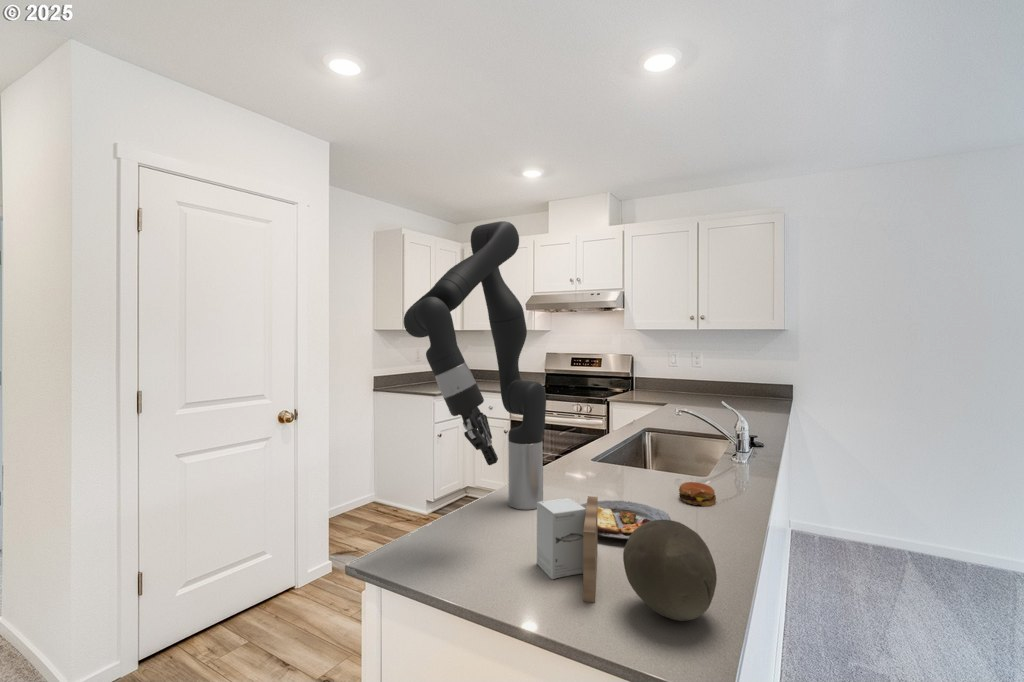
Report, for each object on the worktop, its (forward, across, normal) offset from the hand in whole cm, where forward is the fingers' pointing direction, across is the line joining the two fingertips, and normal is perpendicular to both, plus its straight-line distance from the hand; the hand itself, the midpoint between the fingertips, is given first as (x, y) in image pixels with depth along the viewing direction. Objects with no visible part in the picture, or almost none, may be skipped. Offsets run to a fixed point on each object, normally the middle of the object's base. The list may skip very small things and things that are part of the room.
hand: (493, 462), depth 105 cm
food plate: (+30, +16, -17) cm, 38 cm away
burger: (+41, +36, -37) cm, 66 cm away
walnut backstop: (+25, -10, -11) cm, 29 cm away
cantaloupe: (+29, -22, -22) cm, 43 cm away
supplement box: (+23, -8, -6) cm, 25 cm away
